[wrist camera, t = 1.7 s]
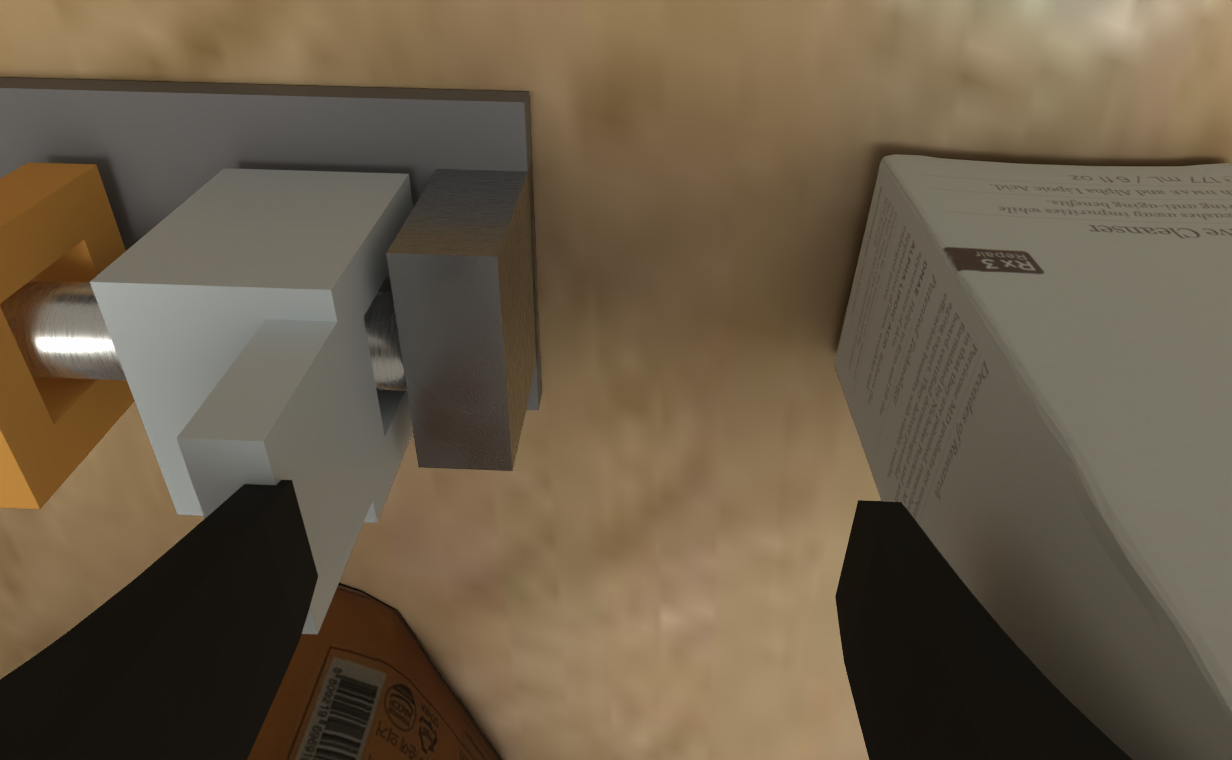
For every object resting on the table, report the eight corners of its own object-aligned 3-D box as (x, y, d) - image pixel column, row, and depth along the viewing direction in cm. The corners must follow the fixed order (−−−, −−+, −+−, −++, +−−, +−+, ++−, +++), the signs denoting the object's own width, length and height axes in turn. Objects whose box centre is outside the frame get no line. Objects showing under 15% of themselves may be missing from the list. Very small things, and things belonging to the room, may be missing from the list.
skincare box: (1235, 156, 18) (2482, 879, 6) (1130, 381, 22) (1804, 1125, 10) (855, 150, 18) (1406, 903, 6) (810, 380, 22) (1100, 1150, 9)
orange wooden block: (96, 164, 18) (-77, 275, 14) (165, 365, 21) (40, 508, 17) (28, 162, 18) (-165, 273, 14) (106, 363, 21) (-34, 506, 17)
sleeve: (408, 173, 18) (253, 406, 11) (434, 375, 21) (324, 657, 14) (223, 168, 18) (-44, 394, 11) (275, 369, 21) (88, 647, 14)
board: (528, 91, 18) (523, 103, 18) (542, 392, 23) (538, 412, 22) (-622, 60, 19) (-674, 70, 18) (-389, 358, 24) (-423, 376, 23)
